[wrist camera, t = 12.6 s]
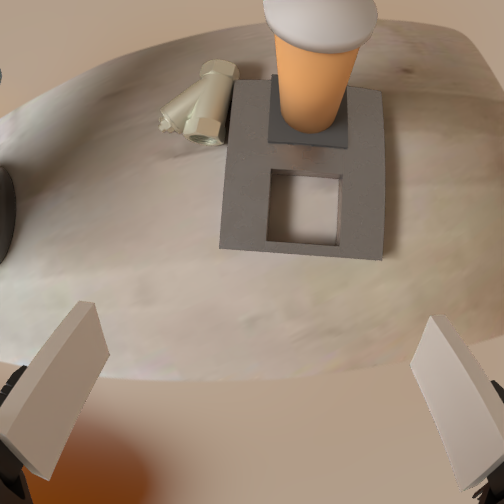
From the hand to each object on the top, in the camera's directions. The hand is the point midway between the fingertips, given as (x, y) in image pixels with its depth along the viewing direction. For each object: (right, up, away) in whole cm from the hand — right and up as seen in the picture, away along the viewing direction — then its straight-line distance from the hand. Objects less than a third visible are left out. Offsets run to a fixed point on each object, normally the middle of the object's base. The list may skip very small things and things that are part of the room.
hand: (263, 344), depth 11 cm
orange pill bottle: (+5, +16, +14) cm, 22 cm away
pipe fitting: (-6, +18, +18) cm, 26 cm away
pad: (+5, +16, +14) cm, 22 cm away
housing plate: (+4, +11, +16) cm, 20 cm away
